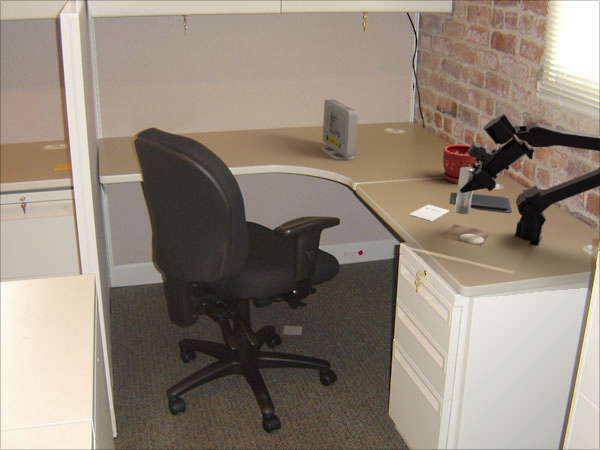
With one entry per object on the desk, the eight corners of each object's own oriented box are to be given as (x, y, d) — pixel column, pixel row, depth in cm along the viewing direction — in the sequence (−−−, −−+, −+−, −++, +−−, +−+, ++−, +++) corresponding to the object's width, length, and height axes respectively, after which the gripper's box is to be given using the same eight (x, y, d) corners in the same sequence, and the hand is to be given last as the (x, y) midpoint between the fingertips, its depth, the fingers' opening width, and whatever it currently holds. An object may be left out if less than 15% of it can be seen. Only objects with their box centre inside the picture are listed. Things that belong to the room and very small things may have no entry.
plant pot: (436, 174, 243) (439, 143, 238) (469, 174, 244) (473, 144, 239) (446, 185, 231) (450, 153, 226) (481, 185, 232) (486, 154, 227)
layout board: (490, 234, 189) (490, 231, 189) (480, 248, 180) (481, 245, 179) (454, 226, 194) (454, 223, 194) (442, 240, 184) (442, 236, 184)
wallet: (449, 202, 210) (451, 188, 224) (448, 208, 211) (450, 193, 224) (512, 210, 206) (510, 195, 219) (511, 215, 206) (509, 200, 220)
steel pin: (471, 210, 189) (477, 168, 184) (467, 215, 185) (474, 172, 180) (456, 207, 191) (462, 166, 186) (452, 212, 187) (458, 169, 182)
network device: (359, 160, 256) (363, 111, 248) (339, 162, 253) (342, 112, 245) (335, 144, 278) (337, 98, 270) (316, 145, 275) (318, 99, 268)
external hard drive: (407, 218, 201) (426, 208, 210) (430, 225, 196) (449, 214, 205) (408, 213, 200) (427, 203, 209) (431, 220, 195) (450, 210, 204)
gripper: (486, 127, 187) (443, 159, 193) (489, 142, 170) (442, 178, 176) (509, 155, 188) (466, 187, 195) (515, 174, 171) (467, 207, 178)
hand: (460, 189), depth 186 cm, fingers closed on steel pin, 4 cm apart
